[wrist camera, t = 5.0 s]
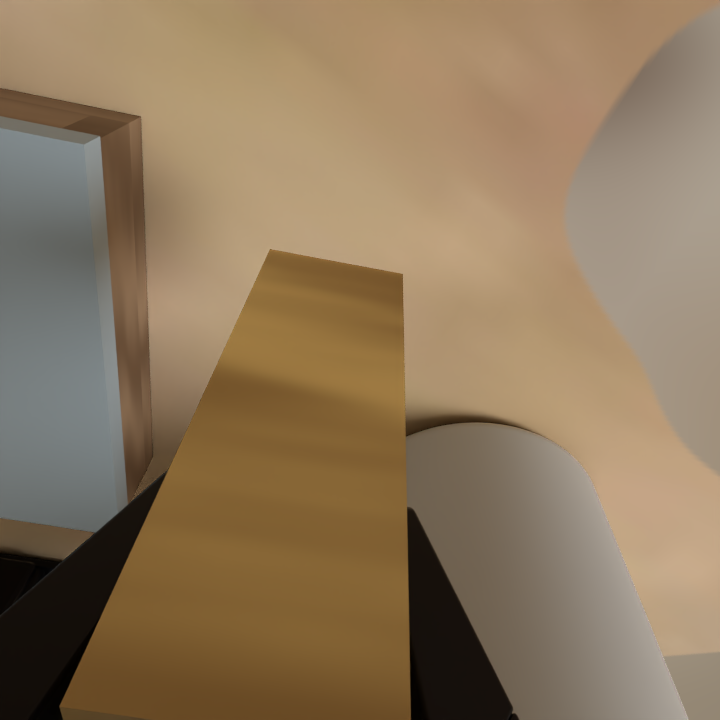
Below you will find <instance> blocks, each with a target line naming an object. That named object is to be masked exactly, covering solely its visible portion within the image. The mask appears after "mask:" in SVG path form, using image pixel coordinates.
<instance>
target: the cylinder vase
mask: <svg viewBox="0 0 720 720" xmlns="http://www.w3.org/2000/svg"><path fill="white" fill-rule="evenodd" d="M406 481H407V506H408V507H411V508H413V509H414V510H415V512H416V514H417V516H418V518H419V520H420V522H421V524H422V526H423V528H424V530H425V532H426V534H427V536H428V538H429V540H430V542H431V544H432V546H433V548H434V550H435V552H436V554H437V556H438V558H439V560H440V562H441V564H442V566H443V568H444V570H445V572H446V574H447V576H448V578H449V580H450V582H451V584H452V586H453V588H454V590H455V592H456V594H457V596H458V598H459V600H460V602H461V604H462V606H463V608H464V610H465V612H466V614H467V616H468V618H469V620H470V622H471V624H472V626H473V628H474V630H475V632H476V634H477V636H478V638H479V640H480V642H481V644H482V646H483V648H484V650H485V652H486V654H487V656H488V658H489V660H490V662H491V664H492V666H493V668H494V670H495V672H496V674H497V676H498V678H499V680H500V682H501V684H502V686H503V688H504V690H505V692H506V694H507V696H508V698H509V700H510V702H511V704H512V706H513V712H512V713H516V714H517V715H518V717H519V719H520V720H689V719H688V717H687V714H686V712H685V709H684V707H683V704H682V702H681V699H680V697H679V694H678V692H677V690H676V687H675V685H674V682H673V680H672V678H671V675H670V672H669V670H668V667H667V665H666V662H665V660H664V657H663V655H662V653H661V650H660V648H659V645H658V643H657V640H656V638H655V635H654V633H653V630H652V628H651V625H650V623H649V621H648V618H647V616H646V613H645V611H644V608H643V606H642V603H641V601H640V598H639V596H638V594H637V591H636V589H635V586H634V584H633V581H632V579H631V576H630V574H629V571H628V569H627V566H626V564H625V562H624V559H623V557H622V554H621V552H620V549H619V547H618V544H617V542H616V539H615V537H614V534H613V532H612V530H611V527H610V525H609V522H608V520H607V517H606V515H605V512H604V510H603V507H602V505H601V502H600V500H599V498H598V495H597V493H596V490H595V488H594V485H593V483H592V481H591V479H590V477H589V476H588V474H587V472H586V471H585V469H584V468H583V467H582V466H581V464H580V463H579V462H578V461H577V460H576V459H575V458H574V457H573V456H572V455H571V454H570V453H568V452H567V451H566V450H565V449H563V448H562V447H560V446H559V445H557V444H556V443H554V442H552V441H551V440H549V439H547V438H545V437H543V436H541V435H538V434H536V433H533V432H530V431H527V430H524V429H521V428H517V427H513V426H508V425H502V424H494V423H457V424H449V425H443V426H438V427H434V428H430V429H426V430H423V431H420V432H417V433H414V434H412V435H409V436H407V437H406Z"/></svg>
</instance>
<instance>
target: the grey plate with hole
mask: <svg viewBox="0 0 720 720" xmlns="http://www.w3.org/2000/svg"><path fill="white" fill-rule="evenodd" d="M127 505H128V499H127V486H126V473H125V460H124V446H123V433H122V420H121V406H120V393H119V380H118V367H117V353H116V340H115V327H114V314H113V300H112V287H111V274H110V261H109V247H108V234H107V221H106V208H105V194H104V181H103V168H102V154H101V141H100V136H97V135H92V134H87V133H82V132H77V131H72V130H67V129H62V128H57V127H52V126H47V125H42V124H37V123H32V122H27V121H22V120H17V119H12V118H7V117H2V116H0V518H4V519H11V520H17V521H24V522H30V523H37V524H43V525H50V526H56V527H63V528H69V529H76V530H82V531H89V532H95V533H96V532H97V531H98V530H99V529H100V528H101V527H102V526H104V525H105V524H106V523H107V522H108V521H109V520H111V519H112V518H113V517H114V516H115V515H116V514H117V513H119V512H120V511H121V510H122V509H123V508H124V507H126V506H127Z"/></svg>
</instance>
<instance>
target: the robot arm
mask: <svg viewBox="0 0 720 720" xmlns="http://www.w3.org/2000/svg"><path fill="white" fill-rule="evenodd" d="M167 472H168V470H167V471H166V472H165V473H164V474H162V475H161V476H160V477H159V478H158V479H157V480H155V481H154V482H153V483H152V484H151V485H150V486H149V487H147V488H146V489H145V490H144V491H143V492H142V493H140V494H139V495H138V496H137V497H136V498H135V499H134V500H132V501H131V502H130V503H129V504H128V505H127V506H126V507H124V508H123V509H122V510H121V511H120V512H119V513H117V514H116V515H115V516H114V517H113V518H112V519H111V520H109V521H108V522H107V523H106V524H105V525H104V526H102V527H101V528H100V529H99V530H98V531H97V532H96V533H94V534H93V535H92V536H91V537H90V538H89V539H88V540H86V541H85V542H84V543H83V544H82V545H81V546H79V547H78V548H77V549H76V550H75V551H74V552H73V553H71V554H70V555H69V556H68V557H67V558H66V559H64V560H63V561H62V562H61V563H59V562H52V561H46V560H39V559H32V558H25V557H19V556H12V555H5V554H0V720H63V717H62V714H61V711H60V707H59V706H60V704H61V702H62V700H63V698H64V696H65V693H66V691H67V689H68V687H69V685H70V683H71V680H72V678H73V676H74V674H75V672H76V670H77V667H78V665H79V663H80V661H81V659H82V656H83V654H84V652H85V650H86V648H87V646H88V643H89V641H90V639H91V637H92V635H93V633H94V630H95V628H96V626H97V624H98V622H99V620H100V617H101V615H102V613H103V611H104V609H105V607H106V604H107V602H108V600H109V598H110V596H111V594H112V591H113V589H114V587H115V585H116V583H117V581H118V578H119V576H120V574H121V572H122V570H123V568H124V565H125V563H126V561H127V559H128V557H129V554H130V552H131V550H132V548H133V546H134V544H135V541H136V539H137V537H138V535H139V533H140V531H141V528H142V526H143V524H144V522H145V520H146V518H147V515H148V513H149V511H150V509H151V507H152V505H153V502H154V500H155V498H156V496H157V494H158V492H159V489H160V487H161V485H162V483H163V481H164V479H165V476H166V474H167ZM407 536H408V590H409V645H410V699H411V720H520V719H519V717H518V715H517V714H516V713H512V712H513V706H512V704H511V702H510V700H509V698H508V696H507V694H506V692H505V690H504V688H503V686H502V684H501V682H500V680H499V678H498V676H497V674H496V672H495V670H494V668H493V666H492V664H491V662H490V660H489V658H488V656H487V654H486V652H485V650H484V648H483V646H482V644H481V642H480V640H479V638H478V636H477V634H476V632H475V630H474V628H473V626H472V624H471V622H470V620H469V618H468V616H467V614H466V612H465V610H464V608H463V606H462V604H461V602H460V600H459V598H458V596H457V594H456V592H455V590H454V588H453V586H452V584H451V582H450V580H449V578H448V576H447V574H446V572H445V570H444V568H443V566H442V564H441V562H440V560H439V558H438V556H437V554H436V552H435V550H434V548H433V546H432V544H431V542H430V540H429V538H428V536H427V534H426V532H425V530H424V528H423V526H422V524H421V522H420V520H419V518H418V516H417V514H416V512H415V510H414V509H413V508H411V507H408V506H407Z"/></svg>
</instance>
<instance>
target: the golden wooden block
mask: <svg viewBox="0 0 720 720" xmlns="http://www.w3.org/2000/svg"><path fill="white" fill-rule="evenodd" d="M59 707H60V711H61V714H62V717H63V720H411V699H410V645H409V590H408V536H407V481H406V427H405V372H404V318H403V274H400V273H394V272H389V271H384V270H378V269H373V268H368V267H362V266H357V265H352V264H346V263H341V262H335V261H330V260H325V259H319V258H314V257H309V256H303V255H298V254H293V253H287V252H282V251H277V250H271V249H270V251H269V253H268V255H267V257H266V259H265V262H264V264H263V266H262V268H261V270H260V272H259V275H258V277H257V279H256V281H255V283H254V285H253V288H252V290H251V292H250V294H249V296H248V298H247V301H246V303H245V305H244V307H243V309H242V311H241V314H240V316H239V318H238V320H237V322H236V324H235V327H234V329H233V331H232V333H231V335H230V337H229V340H228V342H227V344H226V346H225V348H224V351H223V353H222V355H221V357H220V359H219V361H218V364H217V366H216V368H215V370H214V372H213V374H212V377H211V379H210V381H209V383H208V385H207V387H206V390H205V392H204V394H203V396H202V398H201V400H200V403H199V405H198V407H197V409H196V411H195V413H194V416H193V418H192V420H191V422H190V424H189V426H188V429H187V431H186V433H185V435H184V437H183V439H182V442H181V444H180V446H179V448H178V450H177V452H176V455H175V457H174V459H173V461H172V463H171V466H170V468H169V470H168V472H167V474H166V476H165V479H164V481H163V483H162V485H161V487H160V489H159V492H158V494H157V496H156V498H155V500H154V502H153V505H152V507H151V509H150V511H149V513H148V515H147V518H146V520H145V522H144V524H143V526H142V528H141V531H140V533H139V535H138V537H137V539H136V541H135V544H134V546H133V548H132V550H131V552H130V554H129V557H128V559H127V561H126V563H125V565H124V568H123V570H122V572H121V574H120V576H119V578H118V581H117V583H116V585H115V587H114V589H113V591H112V594H111V596H110V598H109V600H108V602H107V604H106V607H105V609H104V611H103V613H102V615H101V617H100V620H99V622H98V624H97V626H96V628H95V630H94V633H93V635H92V637H91V639H90V641H89V643H88V646H87V648H86V650H85V652H84V654H83V656H82V659H81V661H80V663H79V665H78V667H77V670H76V672H75V674H74V676H73V678H72V680H71V683H70V685H69V687H68V689H67V691H66V693H65V696H64V698H63V700H62V702H61V704H60V706H59Z"/></svg>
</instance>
